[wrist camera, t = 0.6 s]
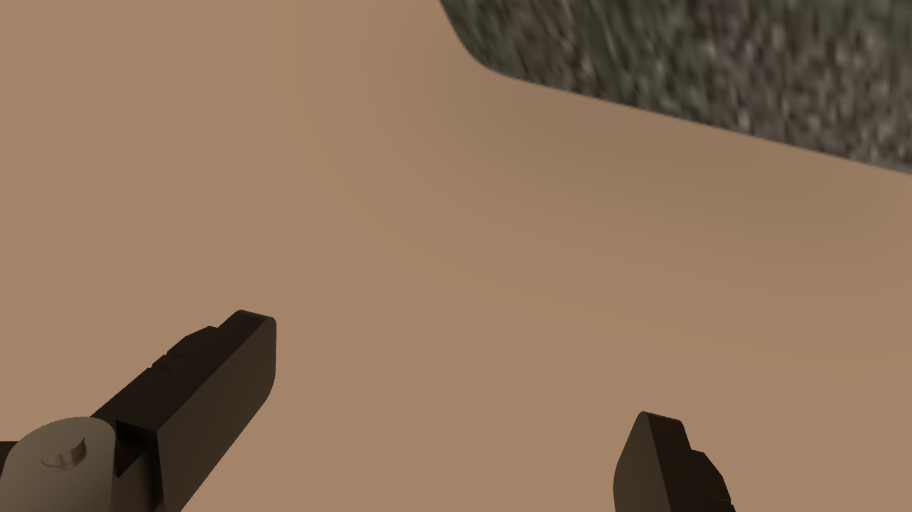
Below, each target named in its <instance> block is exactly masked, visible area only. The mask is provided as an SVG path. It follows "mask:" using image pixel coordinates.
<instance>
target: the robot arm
mask: <svg viewBox="0 0 912 512" xmlns="http://www.w3.org/2000/svg"><path fill="white" fill-rule="evenodd" d="M275 370H276V321H275V319H274V318H272V317H268V316H265V315H260V314H256V313H253V312H248V311H244V310H238V311H236V312H235V313H234V314H233V315H231V316H230V317H229V318H228V319H227V320H226V321H225V322H224V323H223V324H221V325H220V326H219V327H218V328H216V327H212V326H208V327H206V328H204V329H201V330H199V331H197V332H194V333H192V334H190V335H188V336H185V337H184V338H183V339H182V340H181V341H179V342H178V343H177V344H176V345H175V346H173V347H172V348H171V349H170V350H169V351H167V354H166V355H163V356H161V357H160V358H159V359H158V360H157V361H156V362H154V363H153V364H152V367H151V368H147V369H146V370H145V371H144V372H142V373H141V374H140V375H139V376H138V377H137V378H135V379H134V380H133V381H132V382H131V383H129V384H128V385H127V386H126V387H125V388H123V389H122V390H121V391H120V392H119V393H118V394H116V395H115V396H114V397H113V398H112V399H110V400H109V401H108V402H107V403H106V404H104V405H103V406H102V407H101V408H100V409H98V410H97V411H96V412H95V413H94V414H93V415H91V416H90V417H73V418H67V419H62V420H58V421H55V422H52V423H49V424H47V425H44V426H42V427H40V428H38V429H36V430H34V431H32V432H31V433H29V434H28V435H26V436H25V437H24V438H22V439H21V440H20V441H9V442H8V441H6V442H5V441H2V442H1V441H0V512H181V510H182V509H183V508H184V506H185V505H186V503H187V502H188V501H189V500H190V498H191V497H192V496H193V494H194V493H195V492H196V491H197V489H198V488H199V487H200V486H201V484H202V483H203V482H204V480H205V479H206V478H207V476H208V475H209V474H210V472H211V471H212V470H213V469H214V467H215V466H216V465H217V463H218V462H219V461H220V459H221V458H222V457H223V456H224V454H225V453H226V452H227V450H228V449H229V448H230V446H231V445H232V444H233V443H234V441H235V440H236V439H237V437H238V436H239V435H240V434H241V432H242V431H243V430H244V428H245V427H246V426H247V424H248V423H249V422H250V420H251V419H252V418H253V417H254V415H255V414H256V413H257V411H258V410H259V409H260V407H261V406H262V405H263V403H264V402H265V401H266V399H267V398H268V396H269V394H270V391H271V389H272V386H273V383H274V379H275ZM613 494H614V502H615V510H616V512H736V511H735V509H734V506H733V505H732V504H731V498H730V495H729V493H728V490H727V487H726V485H725V482H724V480H723V477H722V475H721V474H720V473H719V471H718V470H717V469H716V467H715V466H714V465H713V464H712V462H711V461H710V460H709V459H708V457H707V456H706V455H705V454H704V453H703V452H699V451H695V450H691V447H690V444H689V441H688V438H687V435H686V432H685V429H684V426H683V424H682V422H681V421H680V420H677V419H672V418H668V417H665V416H661V415H657V414H653V413H648V412H645V411H642V412H640V414H639V415H638V416H637V418H636V421H635V423H634V425H633V428H632V430H631V432H630V435H629V437H628V439H627V442H626V444H625V447H624V449H623V451H622V454H621V456H620V459H619V461H618V463H617V466H616V470H615V475H614V483H613Z"/></svg>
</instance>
